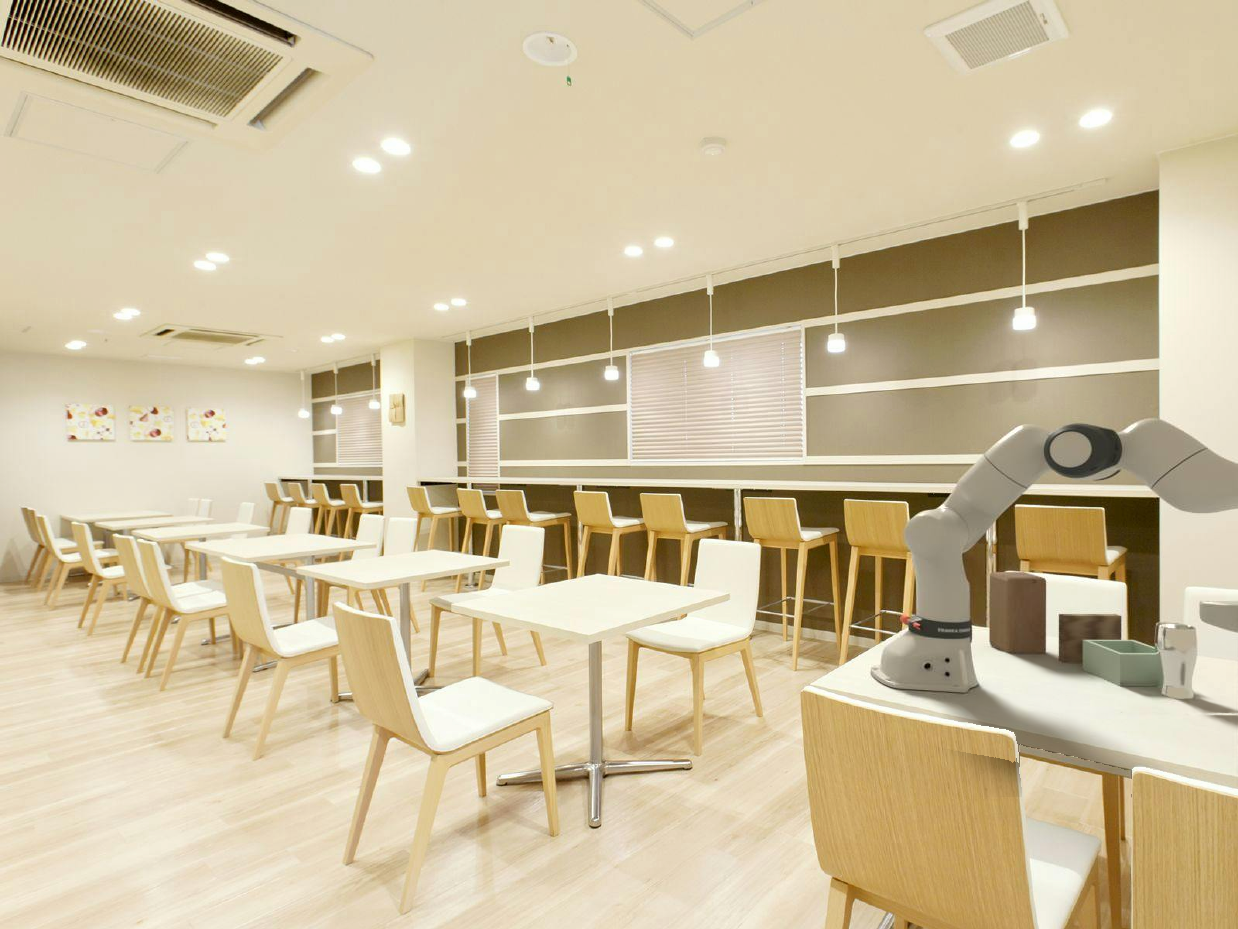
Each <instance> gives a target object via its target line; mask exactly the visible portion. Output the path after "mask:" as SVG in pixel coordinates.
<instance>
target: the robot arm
mask: <svg viewBox="0 0 1238 929" xmlns="http://www.w3.org/2000/svg"><path fill="white" fill-rule="evenodd" d="M1051 471H1053V472H1055V473H1057V474H1058V475H1060V476H1062V477H1065V478H1068V479H1071V480H1076V481H1081V482H1082V481H1085V482H1087V481H1088V482H1089V481H1090V482H1091V481H1096V482H1097V481H1104V480H1108V479H1110V478H1112V477H1115V476H1116V475H1117V474H1119V473H1120V472H1121V471H1125V472H1127V473H1130V474H1131V475H1133V476H1135V477H1136V478H1137V479H1139V480H1140V481H1141V482H1142V483H1143V484H1144V485H1145V486H1146V487H1148V488H1149V489H1150V490H1151V491H1153V493H1155V495H1157V496H1158V497H1159V498H1161V499H1162V500H1163V502H1166V504H1168V505H1169V506H1171V507H1173V508H1175V509H1177V510H1179V511H1181V512H1186V513H1191V514H1212V513H1213V514H1214V513H1220V512H1225V511H1230V510H1236V509H1238V462H1234V461H1232V460H1229V459H1227V458H1225V457H1222V456H1221V455H1219V454H1217V453H1216V452H1214V451H1212V450H1211V449H1210V448H1209V447H1207V446H1206V445H1205V444H1203V443H1202V442H1201V441H1199V440H1198V439H1196V438H1195V437H1193V436H1192V435H1191V434H1189V433H1187V432H1185V431H1184V430H1182V429H1180V428H1179V427H1177V426H1175V425H1173V424H1171V423H1169V422H1167V421H1165V420H1163V419H1160V418H1156V417H1155V418H1154V417H1153V418H1152V417H1149V418H1144V419H1141V420H1138V421H1136V422H1134V423H1131V424H1130V425H1129V426H1127V427H1126V428H1125V429H1123V430H1121V431H1119V432H1116V430H1114V429H1111V428H1106V427H1102V426H1099V425H1094V424H1089V423H1078V422H1077V423H1069V424H1064V425H1063V426H1061V427H1057V428H1056V429H1054V430H1053V431H1052V432H1050V431H1049V430H1048V429H1046V428H1044V427H1042V426H1040V425H1038V424H1033V423H1032V424H1031V423H1025V424H1021V425H1019V426H1016V427H1015V428H1014V429H1012V430H1011V431H1009V432H1008V433H1007V434H1005V435H1004V436H1003V437H1002V438H1000V439H999V440H997V442H995V443H994V444H993V445H992V446H991V447H990V448H988V450H986V452H985V453H984V454H983V455H982V456H981V457H980V458H979V459H978V460H977V461H976V462H975V463H974V464H973V465H971V467H970V468H969V469H967V471H966V472H965V473H964V474H963V475H962V476H961V477H960V478H959V479H958V481H957V483H956V486H955V487H954V489H953V490H952V492H950V494H949V495H948V497H947V498H946V499H945V501H943V503H942V504H941V505H940V506H938V507H937V508H935V509H934V508H933V509H927V510H922V511H920V512H918V513H916V514H915V515H914V516H913V517H911V518H910V519H909V520H908V521H907V522H906V525H904V528H903V534H902V535H903V541H904V544H905V546H906V547H907V549H908V550H909V552H910V559H911V562H912V567H913V571H914V576H915V589H916V590H915V591H916V594H915V595H916V596H915V597H916V598H915V600H916V611H915V612H916V613H915V614H914V615H913V616H912V617H910V616H908V615H906V614H902V615H901V616H900V617H899V620H900V622H901V624H904V625H906V626H908V627H907V628H908V630H907V631H906V632H904V633H903V634H902V635H900V636H899V637H897V638H895V639H894V640H893V641H890V643H888V644H887V645H885V647H884V648H883V650H882V653H881V658H880V664H878V665H876V664H875V665H872V666H871V667H870V674H871V676H872V677H873V678H874V679H875V680H877V681H878V682H879V683H880V684H881V683H882V684H883V685H886V686H888V687H891V688H894V689H901V690H902V689H903V690H918V691H919V690H920V691H921V690H922V691H935V692H951V693H968V692H969V689H971V688H974V687H976V686H977V685H979V681H978V678H977V675H976V671H975V667H974V661H973V655H972V642H973V622H972V621H973V620H972V619H971V586H970V582H969V580H968V578H967V575H966V571H965V567H964V562H963V553H967V551H969V550H970V549H972V548H973V547H974V546H975V545H976V544H977V542H978V541H980V539H981V538H982V537H983V536H984V535H985V534H986V533H987V531H988V530H989V529H990V528H991V527H992V526H993V525H994V523H995V522H996V521H997V519H998V518H999V517H1000V516H1001V515H1002V514H1003V513H1004V512H1005V511H1006V510H1007V509H1008V508H1009V507H1010V506H1012V504H1013V503H1015V502H1016V501H1017V500H1018V499H1019V498H1020V497H1021V496H1022V495H1023V494H1025V492H1026V491H1027V490H1029V488H1031V487H1032V485H1034V483H1036V481H1038V480H1039V479H1040V478H1041V477H1042V476H1044V475H1045V474H1047V473H1048V472H1051ZM1198 606H1199V610H1198V612H1199V618H1200V620H1201V621H1202V622H1203V623H1205V624H1208V625H1211V626H1212V627H1217V628H1219V629H1222V630H1225V631H1229V632H1233V633H1237V634H1238V600H1237V601H1235V600H1234V601H1226V600H1225V601H1219V600H1218V601H1210V600H1201V601H1199V605H1198Z"/></svg>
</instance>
